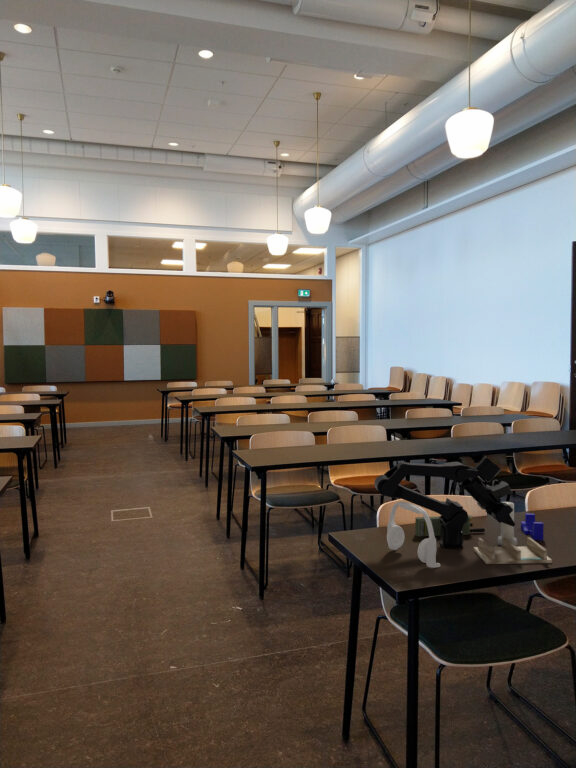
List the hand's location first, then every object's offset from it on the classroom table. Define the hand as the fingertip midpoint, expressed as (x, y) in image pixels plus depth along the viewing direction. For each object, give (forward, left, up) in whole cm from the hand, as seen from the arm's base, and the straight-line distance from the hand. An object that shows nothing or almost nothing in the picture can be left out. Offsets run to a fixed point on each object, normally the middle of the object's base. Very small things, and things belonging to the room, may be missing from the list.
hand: (511, 523), depth 188 cm
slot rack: (-4, -11, -7) cm, 14 cm away
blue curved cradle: (+11, +10, -8) cm, 17 cm away
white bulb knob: (-1, 0, -7) cm, 7 cm away
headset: (-36, -12, -7) cm, 39 cm away
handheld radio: (-17, +11, -8) cm, 22 cm away
